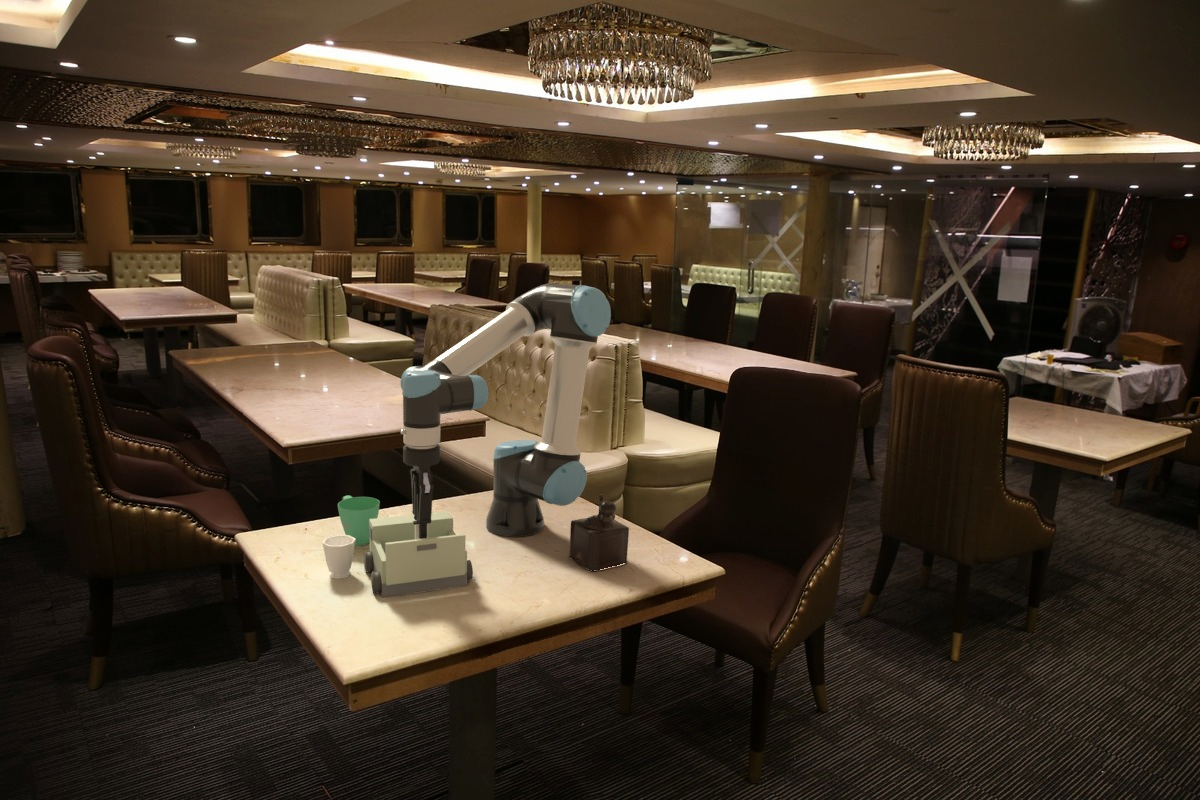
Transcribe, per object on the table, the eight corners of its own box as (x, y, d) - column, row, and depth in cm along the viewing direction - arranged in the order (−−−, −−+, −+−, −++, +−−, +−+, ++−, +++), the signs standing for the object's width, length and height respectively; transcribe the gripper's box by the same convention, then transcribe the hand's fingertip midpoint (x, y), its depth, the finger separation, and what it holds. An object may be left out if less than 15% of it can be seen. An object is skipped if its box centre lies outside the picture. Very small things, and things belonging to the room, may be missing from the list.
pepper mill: (565, 557, 188) (568, 486, 185) (603, 549, 195) (606, 479, 191) (602, 581, 176) (605, 505, 172) (641, 572, 182) (645, 498, 179)
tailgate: (464, 573, 170) (464, 533, 168) (465, 575, 169) (465, 535, 167) (385, 583, 163) (385, 542, 161) (386, 586, 162) (386, 545, 160)
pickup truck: (454, 554, 188) (454, 510, 185) (473, 584, 172) (474, 537, 169) (363, 565, 179) (362, 519, 177) (375, 598, 163) (374, 548, 161)
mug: (386, 544, 192) (386, 505, 190) (347, 552, 186) (346, 512, 184) (364, 526, 203) (363, 489, 201) (326, 533, 197) (325, 495, 195)
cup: (325, 583, 169) (324, 548, 167) (319, 565, 178) (318, 532, 176) (359, 578, 172) (358, 543, 171) (351, 561, 181) (350, 528, 179)
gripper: (398, 438, 168) (398, 541, 173) (409, 453, 157) (409, 564, 161) (433, 436, 171) (432, 538, 176) (446, 451, 160) (445, 560, 164)
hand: (421, 550), depth 169 cm, fingers closed
